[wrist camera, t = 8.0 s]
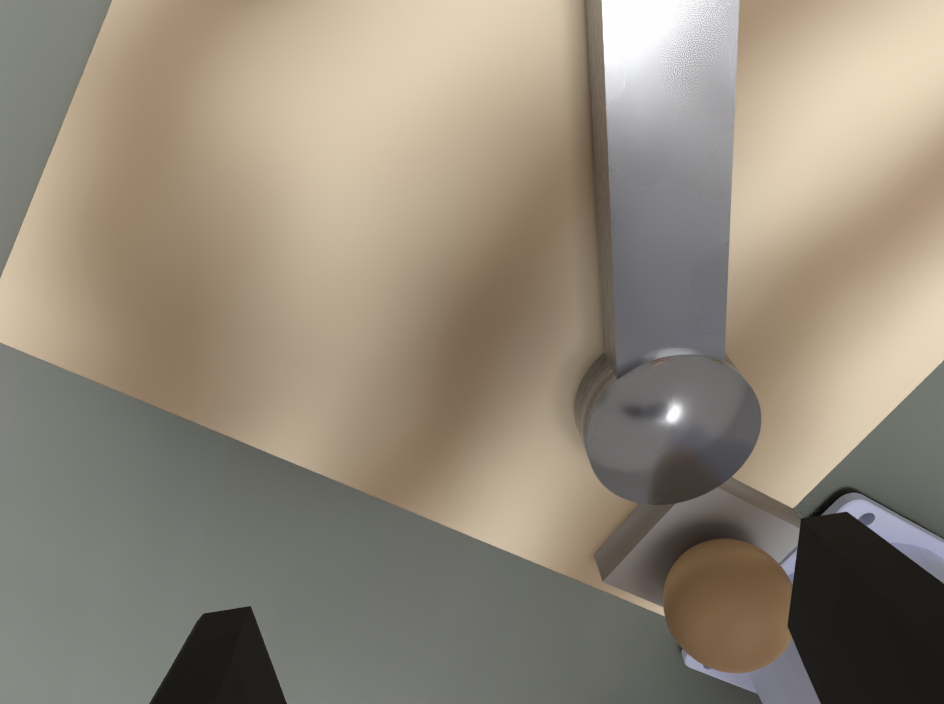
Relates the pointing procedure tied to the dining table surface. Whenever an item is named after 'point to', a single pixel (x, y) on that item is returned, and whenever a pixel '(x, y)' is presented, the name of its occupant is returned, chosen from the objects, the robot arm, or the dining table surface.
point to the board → (487, 265)
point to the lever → (664, 252)
